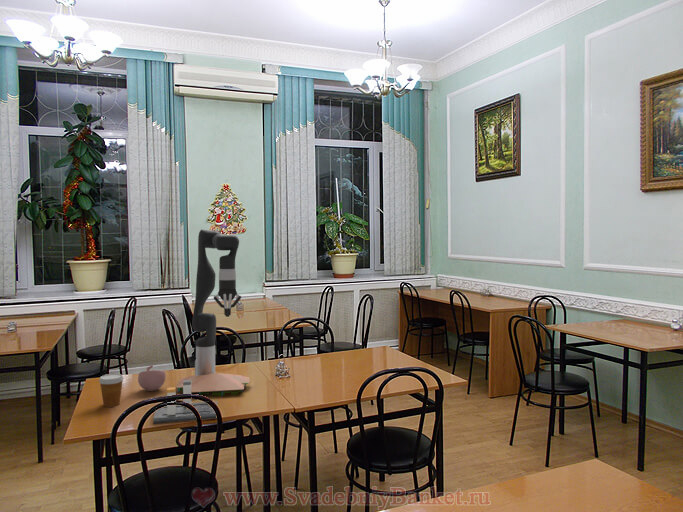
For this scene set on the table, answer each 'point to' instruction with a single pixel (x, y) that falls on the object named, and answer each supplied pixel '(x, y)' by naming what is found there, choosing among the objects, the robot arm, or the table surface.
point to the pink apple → (151, 379)
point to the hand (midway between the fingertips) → (227, 316)
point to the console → (184, 413)
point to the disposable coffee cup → (111, 389)
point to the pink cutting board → (215, 382)
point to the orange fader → (171, 408)
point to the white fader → (187, 390)
